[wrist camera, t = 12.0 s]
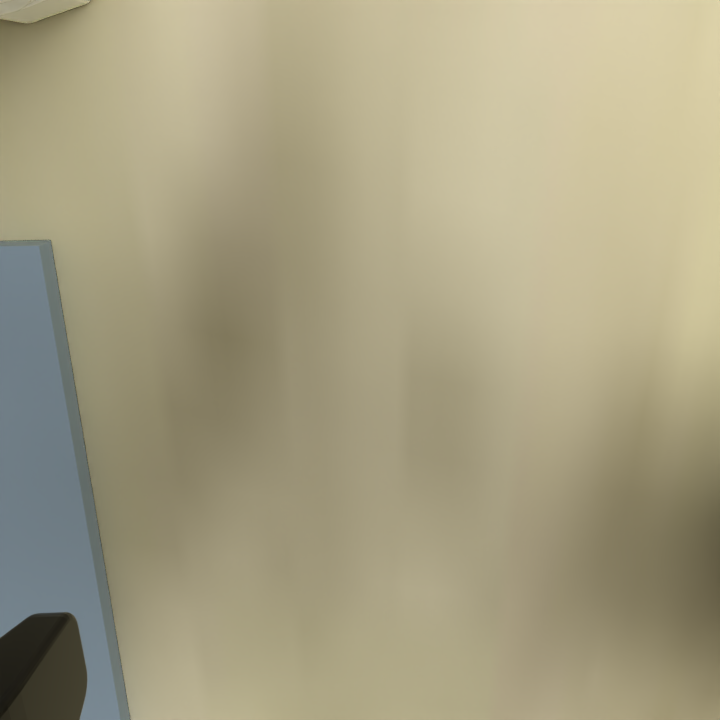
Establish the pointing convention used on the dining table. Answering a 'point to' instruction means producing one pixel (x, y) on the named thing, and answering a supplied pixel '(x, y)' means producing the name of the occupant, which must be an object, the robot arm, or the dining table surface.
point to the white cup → (35, 9)
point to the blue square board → (49, 478)
